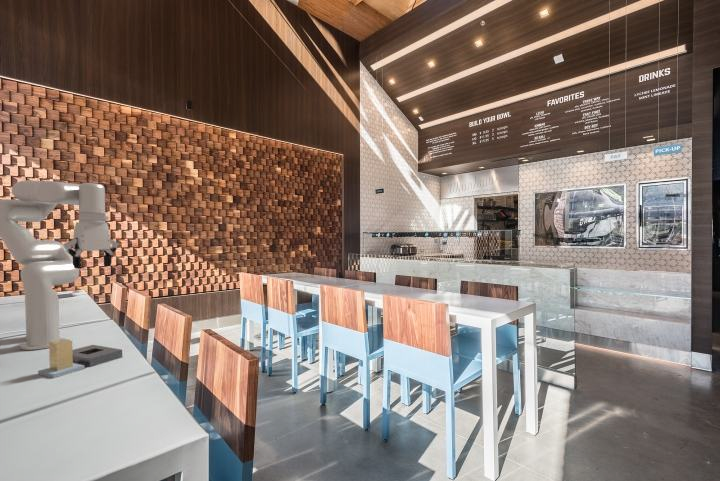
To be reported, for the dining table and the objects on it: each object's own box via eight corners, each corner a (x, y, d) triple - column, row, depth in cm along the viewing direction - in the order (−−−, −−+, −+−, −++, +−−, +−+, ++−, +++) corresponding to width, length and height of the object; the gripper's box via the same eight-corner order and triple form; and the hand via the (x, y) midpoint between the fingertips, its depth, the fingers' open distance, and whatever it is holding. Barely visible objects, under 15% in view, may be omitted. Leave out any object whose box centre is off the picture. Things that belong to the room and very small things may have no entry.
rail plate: (60, 360, 120) (59, 353, 120) (93, 351, 129) (92, 344, 129) (89, 366, 113) (89, 358, 113) (122, 357, 122) (122, 349, 122)
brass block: (49, 369, 109) (49, 342, 109) (65, 364, 112) (64, 338, 112) (57, 371, 107) (56, 343, 107) (72, 366, 111) (72, 340, 111)
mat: (38, 374, 108) (38, 370, 108) (69, 365, 115) (69, 362, 115) (53, 377, 104) (53, 374, 104) (84, 368, 112) (84, 365, 112)
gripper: (111, 219, 139) (112, 265, 139) (57, 217, 123) (58, 268, 124) (123, 219, 136) (124, 265, 136) (70, 217, 120) (70, 269, 120)
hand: (92, 267), depth 130 cm, fingers open, 9 cm apart
